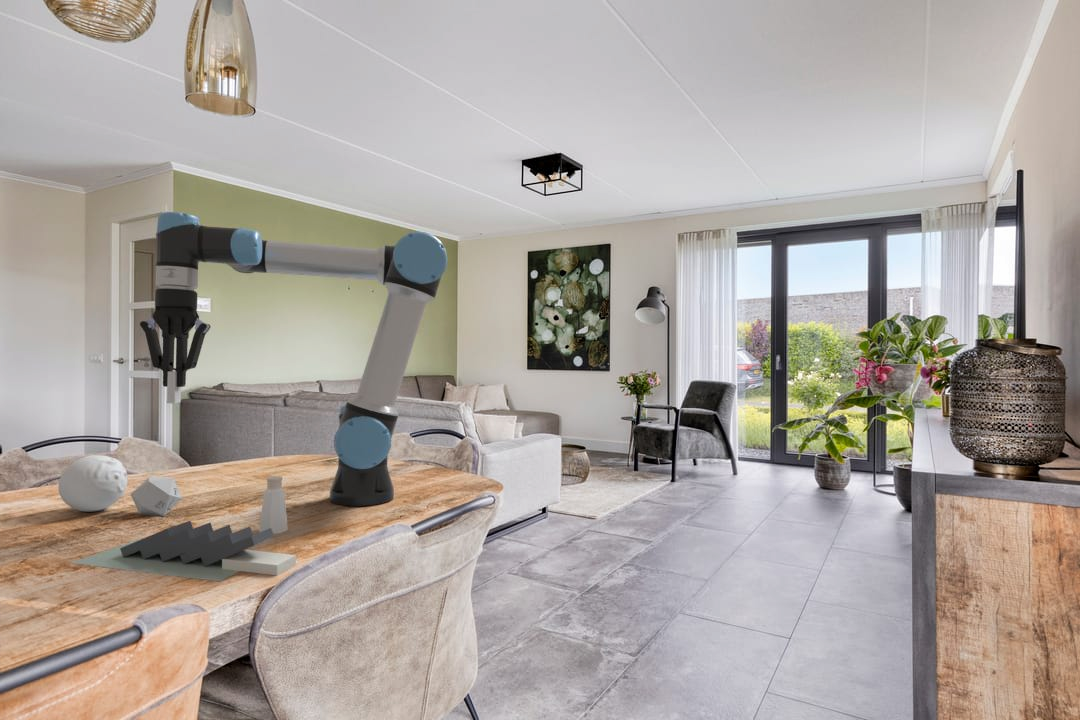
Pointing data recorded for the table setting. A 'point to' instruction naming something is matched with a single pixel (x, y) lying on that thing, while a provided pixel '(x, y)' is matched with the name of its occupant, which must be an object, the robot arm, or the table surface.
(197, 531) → the domino
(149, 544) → the domino
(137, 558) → the felt mat
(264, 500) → the salt shaker
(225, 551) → the domino
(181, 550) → the domino
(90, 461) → the decorative ball
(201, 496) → the table surface
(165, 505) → the die
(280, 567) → the domino
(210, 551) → the domino
